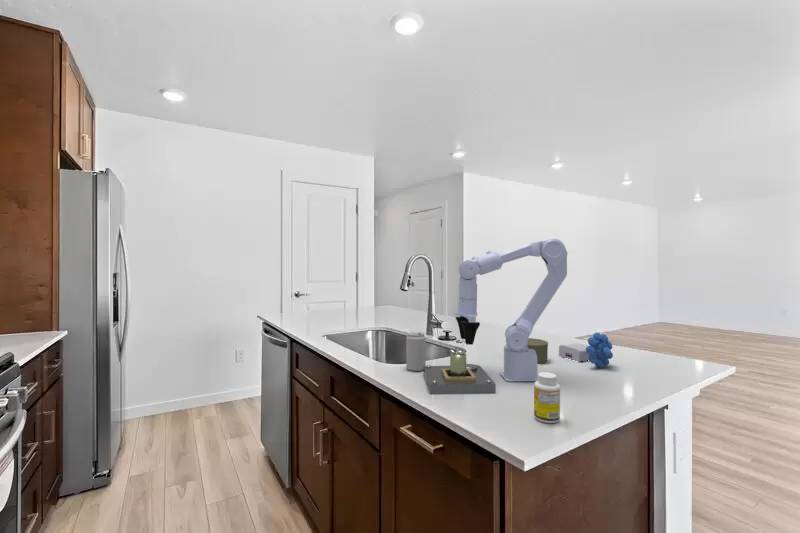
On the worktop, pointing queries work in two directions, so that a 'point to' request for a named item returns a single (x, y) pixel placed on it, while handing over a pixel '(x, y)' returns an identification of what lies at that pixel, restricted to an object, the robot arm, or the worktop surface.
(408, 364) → the beverage can
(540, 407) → the supplement bottle
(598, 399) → the worktop surface
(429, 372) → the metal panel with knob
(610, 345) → the grapes
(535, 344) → the can
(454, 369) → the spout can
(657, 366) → the worktop surface
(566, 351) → the charger
